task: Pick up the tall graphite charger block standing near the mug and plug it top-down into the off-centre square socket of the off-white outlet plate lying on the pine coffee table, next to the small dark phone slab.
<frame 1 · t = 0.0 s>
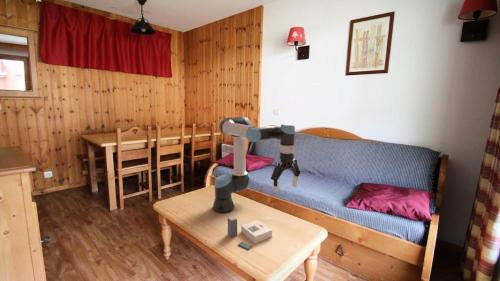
hand: (285, 189, 137), 28 cm above the table, fingers open, 13 cm apart
outlet plate: (256, 234, 142), on the table
phone: (244, 247, 131), on the table
charger: (232, 234, 141), on the table
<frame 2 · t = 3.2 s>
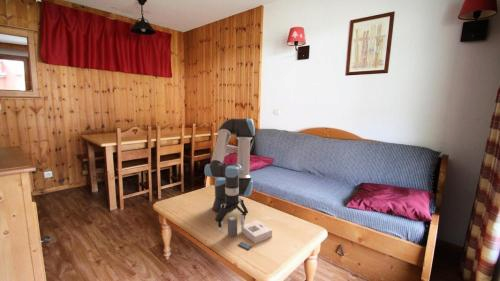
hand: (232, 228, 140), 4 cm above the table, fingers open, 13 cm apart
nothing on the table moved.
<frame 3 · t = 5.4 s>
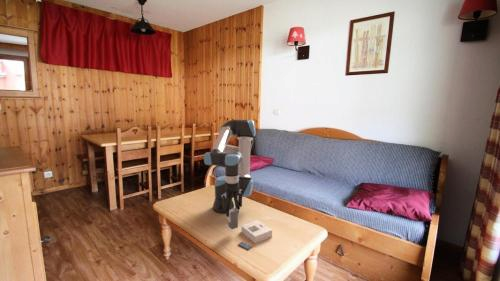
hand: (232, 219, 140), 9 cm above the table, fingers closed on charger, 4 cm apart
charger: (233, 226, 141), point 5 cm above the table, touching gripper
everything else where it was.
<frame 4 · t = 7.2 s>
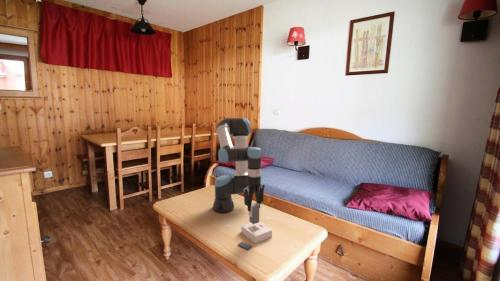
hand: (253, 214, 138), 13 cm above the table, fingers closed on charger, 4 cm apart
charger: (254, 221, 139), point 9 cm above the table, touching gripper
everything else where it was.
when the fingers open (5 cm above the table, at t = 9.0 s): charger drops 1 cm, resting in outlet plate.
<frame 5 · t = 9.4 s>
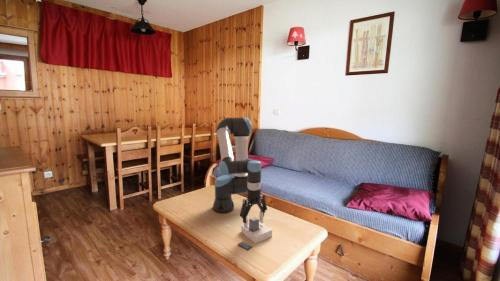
hand: (253, 224, 140), 6 cm above the table, fingers open, 10 cm apart
charger: (253, 235, 141), resting in outlet plate
everything else where it was.
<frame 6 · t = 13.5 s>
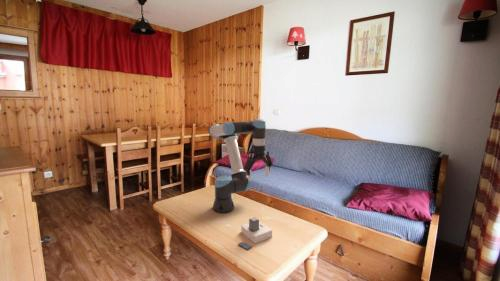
hand: (258, 178, 152), 29 cm above the table, fingers open, 13 cm apart
nothing on the table moved.
at the end: charger 0.4 cm from the target spot on the outlet plate, point 0.0 cm above the outlet plate's base; charger tilted 0°; the gripper is holding nothing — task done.
